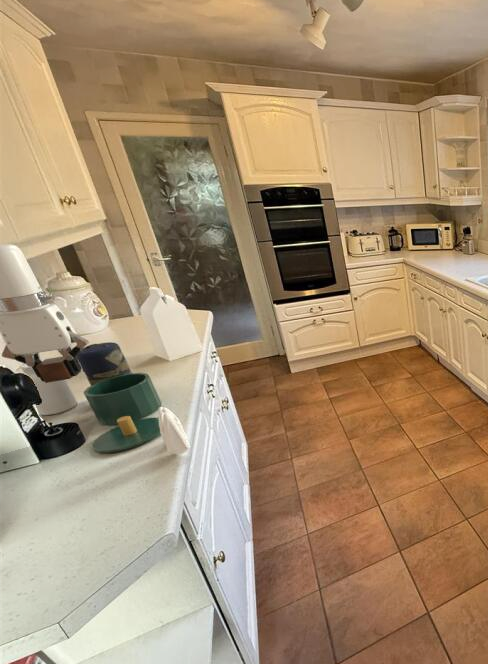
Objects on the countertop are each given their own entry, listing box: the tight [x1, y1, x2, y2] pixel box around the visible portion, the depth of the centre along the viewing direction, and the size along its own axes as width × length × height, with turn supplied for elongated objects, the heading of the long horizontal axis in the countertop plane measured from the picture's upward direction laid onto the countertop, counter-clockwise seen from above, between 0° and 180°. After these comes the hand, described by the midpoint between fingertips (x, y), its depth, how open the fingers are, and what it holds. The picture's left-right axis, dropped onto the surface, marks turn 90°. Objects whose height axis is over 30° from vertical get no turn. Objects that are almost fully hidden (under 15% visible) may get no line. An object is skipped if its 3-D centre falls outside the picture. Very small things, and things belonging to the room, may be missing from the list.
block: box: [36, 356, 74, 383], centre depth 93 cm, size 4×4×4 cm
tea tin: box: [83, 372, 162, 427], centre depth 113 cm, size 14×14×10 cm
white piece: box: [157, 406, 191, 456], centre depth 97 cm, size 12×4×11 cm, turn 45°
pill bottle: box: [20, 359, 78, 416], centre depth 114 cm, size 8×8×15 cm
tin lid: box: [91, 416, 161, 453], centre depth 102 cm, size 15×15×6 cm
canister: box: [76, 341, 133, 386], centre depth 120 cm, size 10×10×18 cm
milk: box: [139, 286, 205, 362], centre depth 150 cm, size 12×12×26 cm
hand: (62, 375), depth 94 cm, fingers closed on block, 4 cm apart
